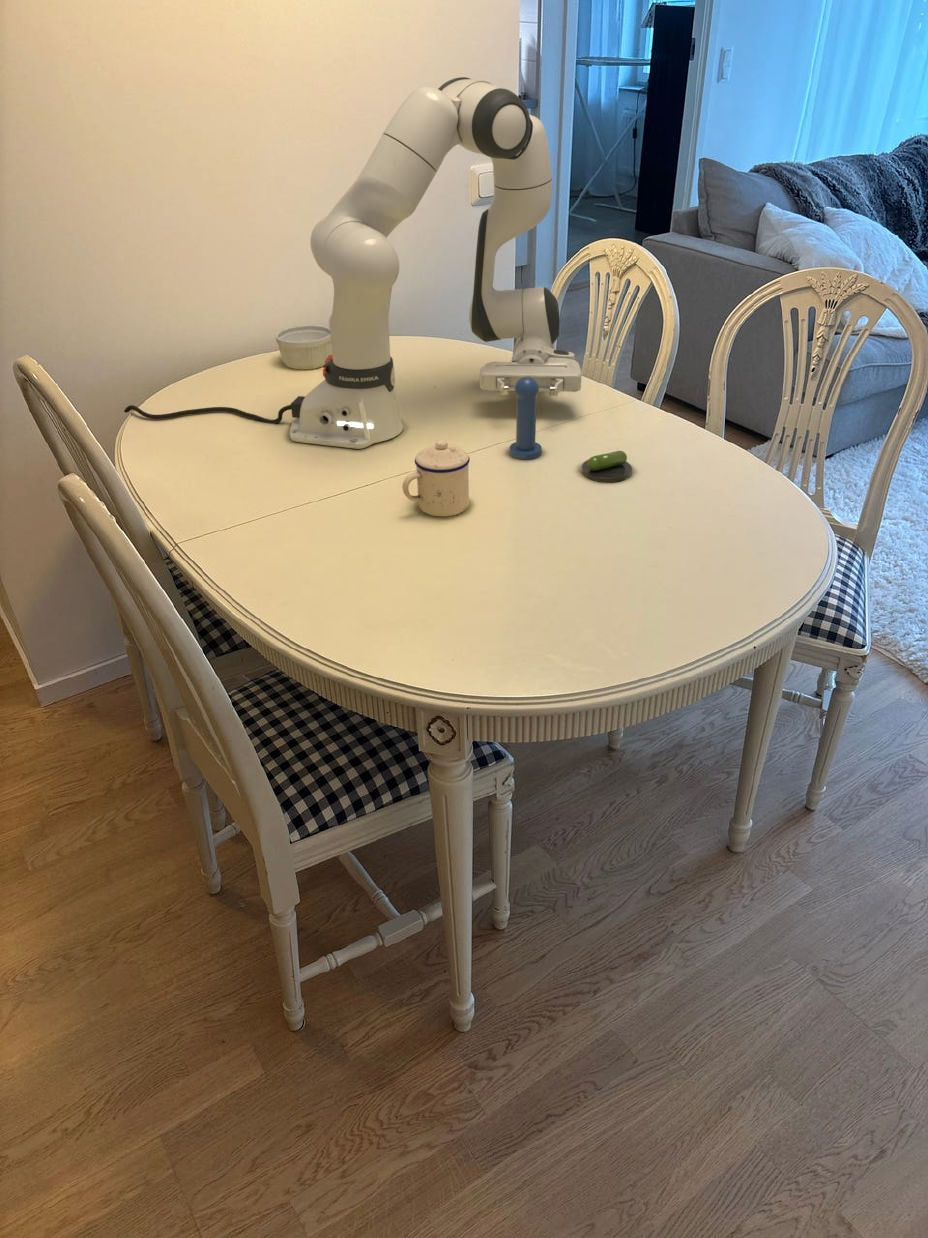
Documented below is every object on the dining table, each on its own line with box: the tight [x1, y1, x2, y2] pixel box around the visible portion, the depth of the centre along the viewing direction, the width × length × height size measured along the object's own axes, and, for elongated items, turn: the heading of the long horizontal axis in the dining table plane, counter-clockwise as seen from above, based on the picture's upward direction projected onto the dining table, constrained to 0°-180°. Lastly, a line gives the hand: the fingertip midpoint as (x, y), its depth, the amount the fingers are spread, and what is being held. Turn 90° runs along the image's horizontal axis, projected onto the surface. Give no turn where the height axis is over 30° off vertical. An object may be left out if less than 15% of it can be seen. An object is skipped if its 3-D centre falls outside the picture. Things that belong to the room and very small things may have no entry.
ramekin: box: [275, 324, 332, 371], centre depth 215 cm, size 13×13×7 cm
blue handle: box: [509, 377, 543, 461], centre depth 168 cm, size 6×6×15 cm
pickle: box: [581, 450, 633, 483], centre depth 164 cm, size 9×9×3 cm
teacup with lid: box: [401, 439, 471, 517], centre depth 151 cm, size 12×9×12 cm
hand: (529, 391), depth 177 cm, fingers open, 8 cm apart
